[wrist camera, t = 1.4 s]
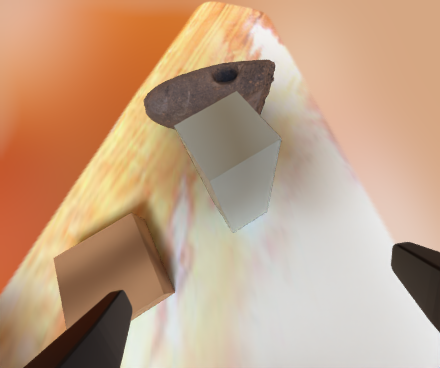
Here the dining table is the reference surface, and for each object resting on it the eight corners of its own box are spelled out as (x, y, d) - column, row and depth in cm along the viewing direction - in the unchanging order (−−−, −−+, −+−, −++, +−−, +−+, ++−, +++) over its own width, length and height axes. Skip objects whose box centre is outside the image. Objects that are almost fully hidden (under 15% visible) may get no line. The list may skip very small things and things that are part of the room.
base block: (176, 292, 19) (164, 294, 17) (97, 343, 19) (71, 353, 16) (146, 220, 23) (131, 212, 20) (78, 260, 22) (53, 258, 19)
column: (267, 211, 21) (281, 138, 10) (232, 233, 20) (209, 181, 10) (244, 181, 23) (236, 90, 12) (212, 200, 22) (174, 125, 11)
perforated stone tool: (153, 142, 27) (122, 100, 20) (159, 110, 29) (132, 64, 23) (274, 133, 25) (281, 84, 18) (270, 100, 27) (275, 45, 20)
